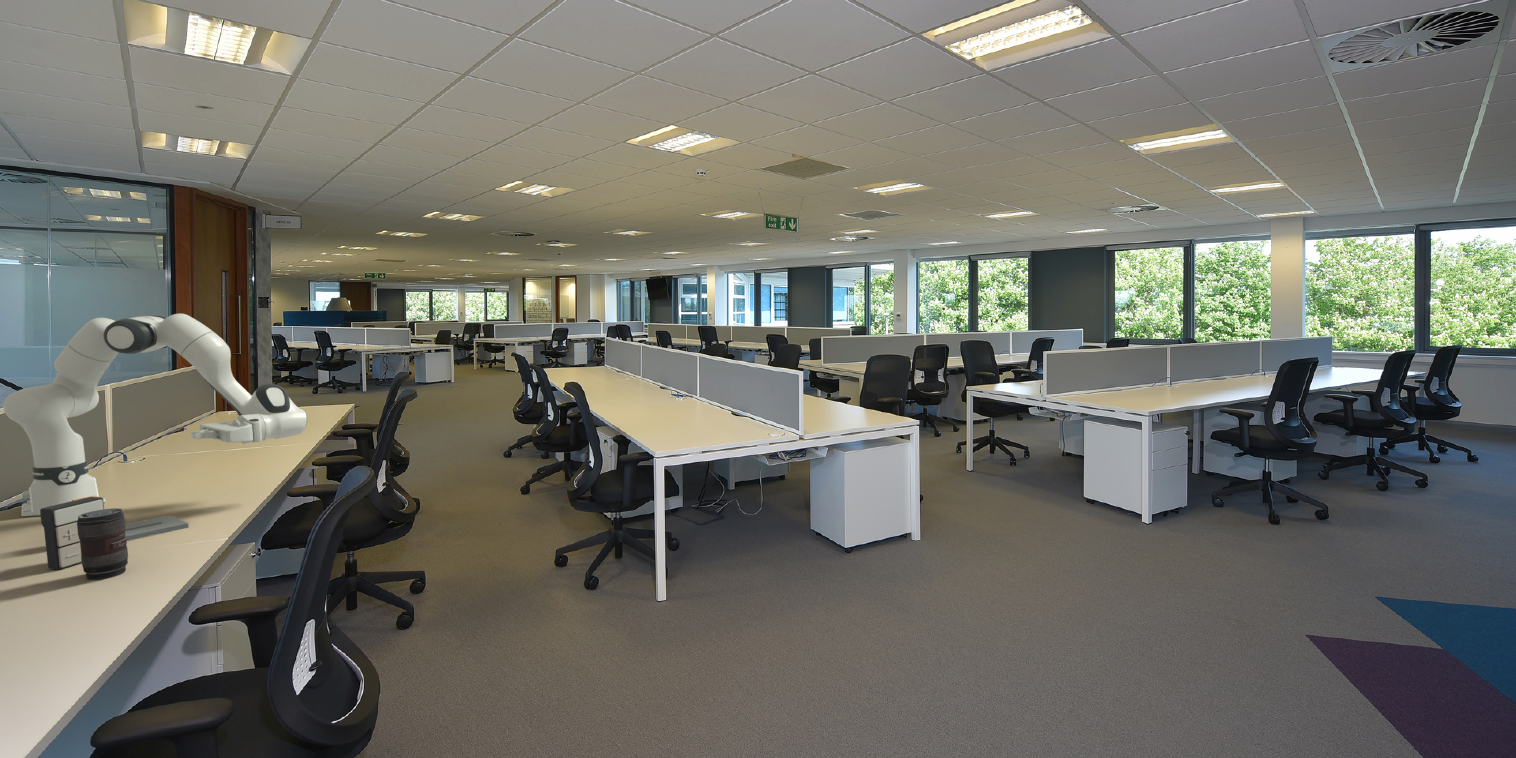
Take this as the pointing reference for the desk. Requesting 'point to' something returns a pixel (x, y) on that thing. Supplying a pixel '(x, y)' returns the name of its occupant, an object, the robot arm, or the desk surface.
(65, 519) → the calculator
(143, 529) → the fader console
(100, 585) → the desk surface
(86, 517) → the camera lens
